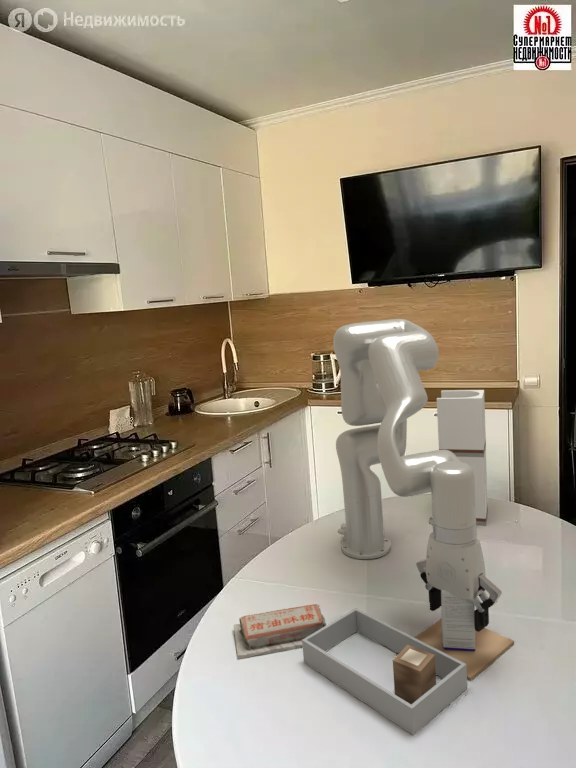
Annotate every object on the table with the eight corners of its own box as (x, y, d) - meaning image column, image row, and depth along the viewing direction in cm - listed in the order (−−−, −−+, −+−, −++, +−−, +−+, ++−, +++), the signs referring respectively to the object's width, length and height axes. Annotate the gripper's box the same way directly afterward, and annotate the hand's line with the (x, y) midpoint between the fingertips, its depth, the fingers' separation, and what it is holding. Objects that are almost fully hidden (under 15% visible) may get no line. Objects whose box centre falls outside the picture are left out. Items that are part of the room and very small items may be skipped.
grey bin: (303, 662, 109) (301, 640, 108) (357, 628, 118) (355, 607, 117) (413, 734, 90) (411, 708, 89) (467, 688, 99) (466, 664, 98)
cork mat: (405, 646, 111) (405, 643, 111) (449, 615, 120) (449, 612, 120) (470, 681, 100) (470, 677, 100) (514, 643, 109) (514, 640, 109)
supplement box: (476, 652, 107) (474, 593, 105) (442, 650, 108) (440, 592, 106) (473, 633, 112) (471, 577, 110) (441, 631, 114) (438, 576, 112)
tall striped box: (487, 510, 168) (484, 389, 162) (485, 525, 159) (481, 398, 153) (446, 508, 173) (441, 390, 166) (442, 523, 163) (436, 398, 157)
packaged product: (317, 595, 123) (328, 622, 114) (319, 616, 124) (330, 645, 114) (231, 610, 121) (235, 638, 111) (233, 631, 122) (237, 662, 112)
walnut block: (395, 698, 98) (392, 659, 97) (409, 681, 102) (407, 644, 101) (422, 710, 95) (420, 670, 94) (436, 692, 99) (434, 654, 97)
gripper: (403, 524, 110) (407, 608, 113) (486, 552, 97) (489, 646, 100) (427, 512, 115) (431, 593, 118) (510, 536, 102) (512, 627, 105)
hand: (458, 617), depth 109 cm, fingers open, 9 cm apart
